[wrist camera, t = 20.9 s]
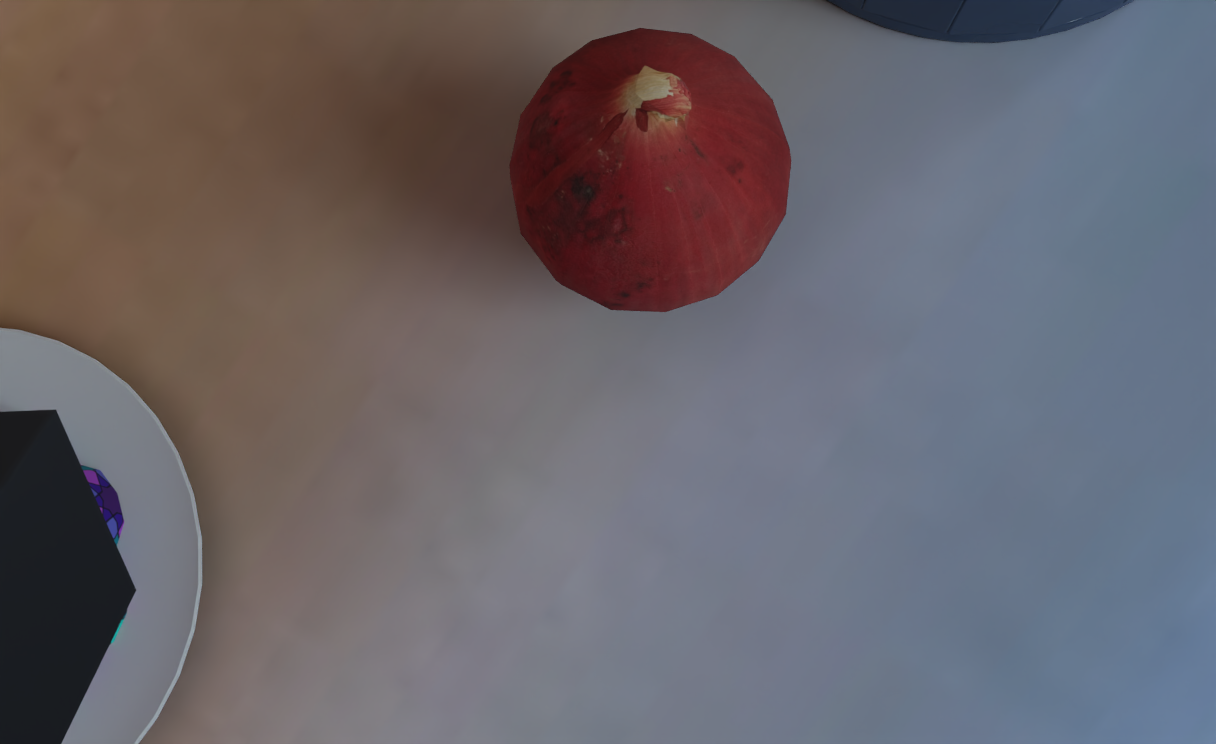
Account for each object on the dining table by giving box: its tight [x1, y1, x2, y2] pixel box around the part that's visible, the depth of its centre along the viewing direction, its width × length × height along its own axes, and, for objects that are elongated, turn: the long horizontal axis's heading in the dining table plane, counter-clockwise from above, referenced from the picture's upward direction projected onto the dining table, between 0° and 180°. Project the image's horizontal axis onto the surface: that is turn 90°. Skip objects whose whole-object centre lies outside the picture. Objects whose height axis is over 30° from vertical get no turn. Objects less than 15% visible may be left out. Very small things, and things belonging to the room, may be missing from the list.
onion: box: [510, 28, 791, 312], centre depth 23 cm, size 6×6×8 cm
